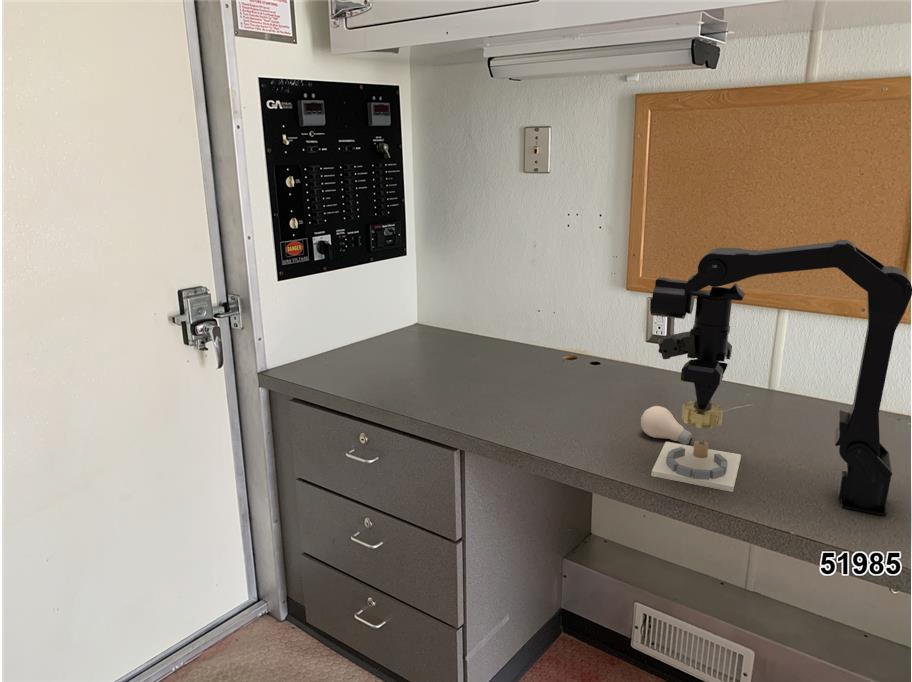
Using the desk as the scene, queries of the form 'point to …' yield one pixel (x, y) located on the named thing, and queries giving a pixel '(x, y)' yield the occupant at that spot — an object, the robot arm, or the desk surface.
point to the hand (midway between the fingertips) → (703, 405)
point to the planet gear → (701, 414)
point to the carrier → (697, 465)
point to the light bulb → (664, 425)
